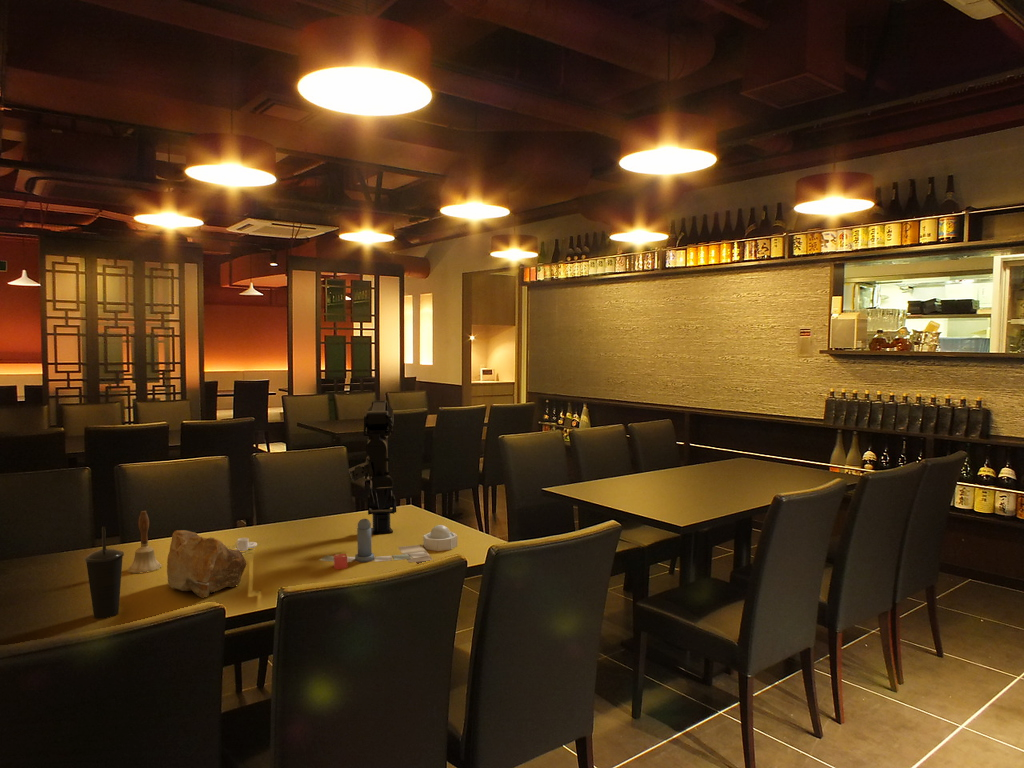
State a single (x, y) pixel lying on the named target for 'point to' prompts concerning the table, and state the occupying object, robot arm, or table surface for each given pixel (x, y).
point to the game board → (409, 552)
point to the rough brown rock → (202, 564)
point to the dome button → (440, 532)
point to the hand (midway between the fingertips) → (378, 506)
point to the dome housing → (440, 542)
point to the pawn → (364, 542)
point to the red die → (340, 561)
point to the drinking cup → (105, 579)
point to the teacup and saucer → (244, 544)
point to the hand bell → (144, 550)
